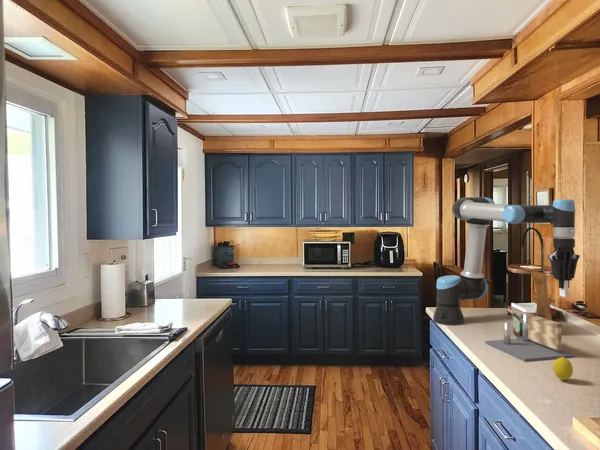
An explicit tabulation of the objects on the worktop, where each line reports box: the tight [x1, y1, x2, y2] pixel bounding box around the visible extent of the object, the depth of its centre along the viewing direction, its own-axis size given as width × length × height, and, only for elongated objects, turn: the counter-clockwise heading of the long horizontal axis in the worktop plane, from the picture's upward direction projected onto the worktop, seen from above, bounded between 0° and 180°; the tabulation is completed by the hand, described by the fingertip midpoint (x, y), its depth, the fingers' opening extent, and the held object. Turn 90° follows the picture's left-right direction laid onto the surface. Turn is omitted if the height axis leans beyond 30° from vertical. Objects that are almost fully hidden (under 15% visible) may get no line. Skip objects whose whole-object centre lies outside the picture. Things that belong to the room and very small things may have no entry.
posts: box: [503, 311, 531, 345], centre depth 183 cm, size 3×14×13 cm, turn 112°
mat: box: [484, 337, 576, 363], centre depth 176 cm, size 24×22×1 cm
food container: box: [511, 311, 523, 339], centre depth 194 cm, size 12×6×10 cm, turn 168°
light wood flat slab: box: [527, 314, 563, 350], centre depth 175 cm, size 16×2×10 cm, turn 11°
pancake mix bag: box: [530, 270, 553, 321], centre depth 204 cm, size 7×19×28 cm, turn 163°
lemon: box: [552, 357, 574, 382], centre depth 143 cm, size 6×6×8 cm
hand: (564, 296), depth 174 cm, fingers closed
